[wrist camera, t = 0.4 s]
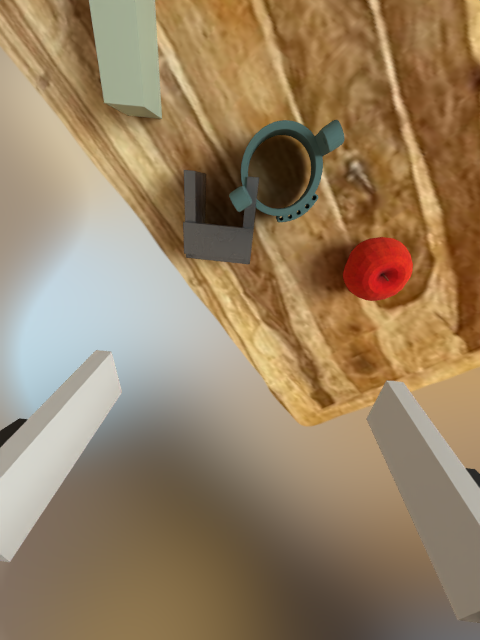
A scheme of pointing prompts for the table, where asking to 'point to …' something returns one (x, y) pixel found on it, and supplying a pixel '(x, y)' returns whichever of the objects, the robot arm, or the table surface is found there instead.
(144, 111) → the block
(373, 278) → the apple
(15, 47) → the table surface
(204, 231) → the endcap
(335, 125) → the bracket
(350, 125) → the table surface
